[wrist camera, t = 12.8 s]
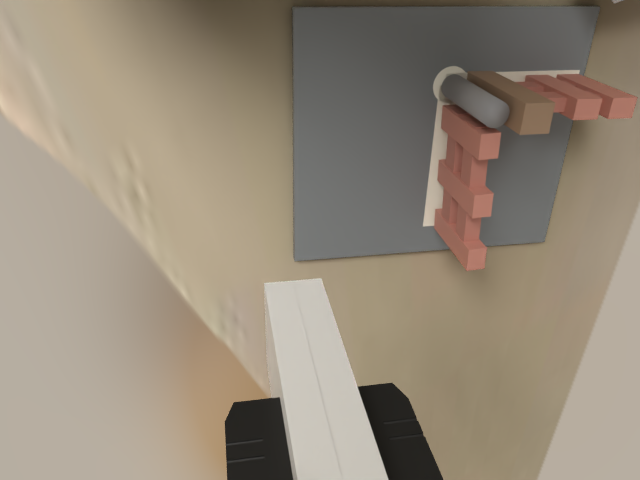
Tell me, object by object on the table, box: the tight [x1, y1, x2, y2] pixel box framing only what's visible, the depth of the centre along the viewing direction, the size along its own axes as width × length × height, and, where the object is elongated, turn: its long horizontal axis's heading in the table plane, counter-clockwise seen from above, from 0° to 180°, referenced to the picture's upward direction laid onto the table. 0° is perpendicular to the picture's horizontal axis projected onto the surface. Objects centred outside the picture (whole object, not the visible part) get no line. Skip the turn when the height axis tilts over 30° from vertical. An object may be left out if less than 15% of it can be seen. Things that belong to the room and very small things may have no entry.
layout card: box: [292, 6, 600, 261], centre depth 45 cm, size 20×23×1 cm
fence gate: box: [434, 74, 510, 271], centre depth 42 cm, size 13×2×7 cm, turn 2°
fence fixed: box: [467, 71, 638, 135], centre depth 40 cm, size 9×2×9 cm, turn 89°
